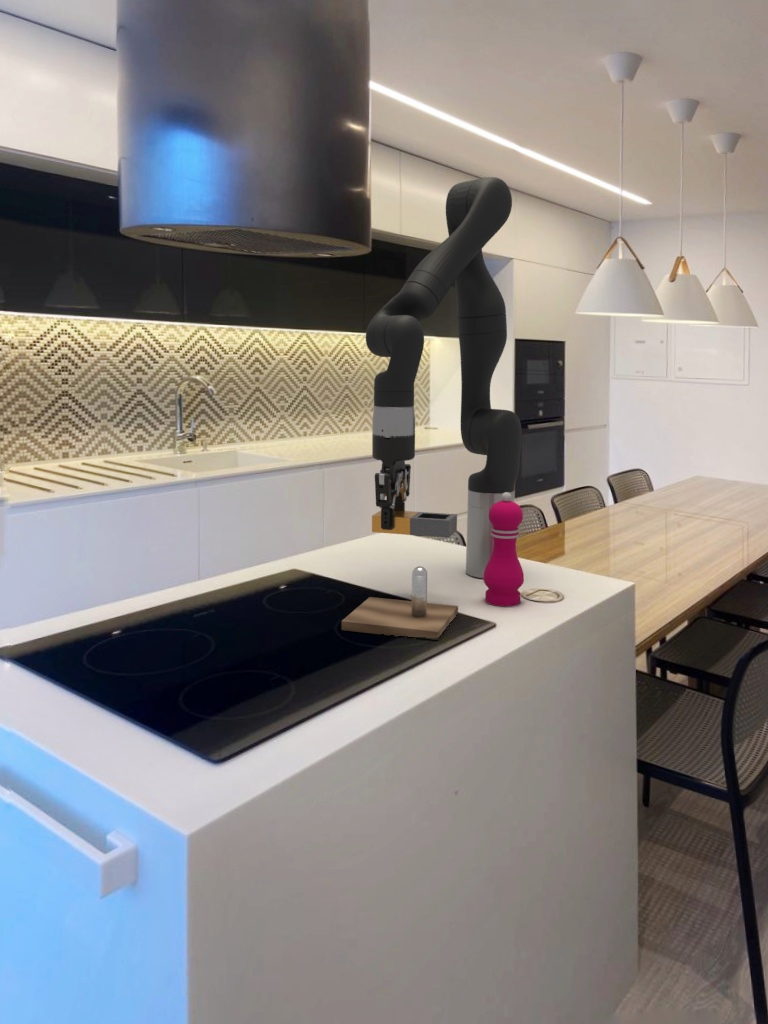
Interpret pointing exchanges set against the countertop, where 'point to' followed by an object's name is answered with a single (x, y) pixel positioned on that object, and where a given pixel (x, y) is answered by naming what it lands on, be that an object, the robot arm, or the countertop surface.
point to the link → (418, 524)
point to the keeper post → (419, 592)
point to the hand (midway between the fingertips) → (393, 525)
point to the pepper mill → (504, 554)
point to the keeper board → (399, 618)
